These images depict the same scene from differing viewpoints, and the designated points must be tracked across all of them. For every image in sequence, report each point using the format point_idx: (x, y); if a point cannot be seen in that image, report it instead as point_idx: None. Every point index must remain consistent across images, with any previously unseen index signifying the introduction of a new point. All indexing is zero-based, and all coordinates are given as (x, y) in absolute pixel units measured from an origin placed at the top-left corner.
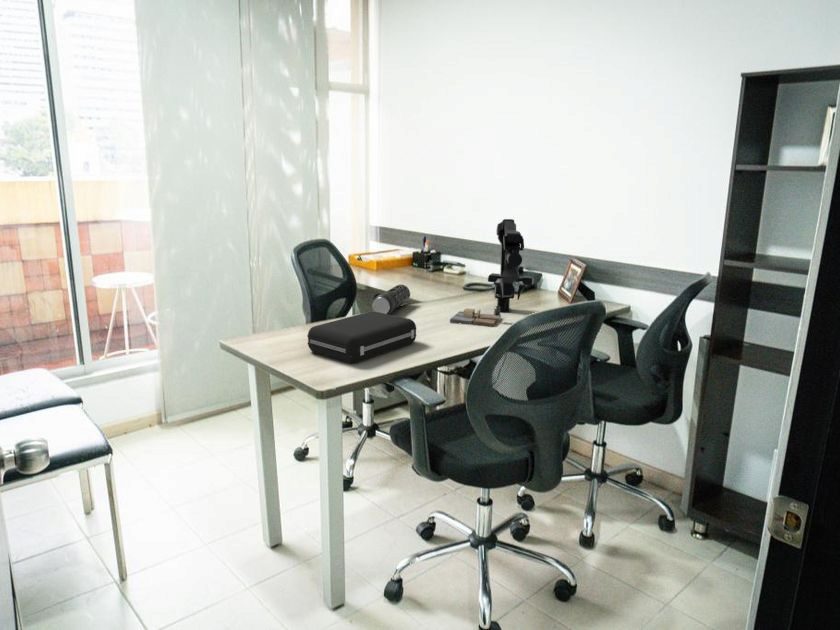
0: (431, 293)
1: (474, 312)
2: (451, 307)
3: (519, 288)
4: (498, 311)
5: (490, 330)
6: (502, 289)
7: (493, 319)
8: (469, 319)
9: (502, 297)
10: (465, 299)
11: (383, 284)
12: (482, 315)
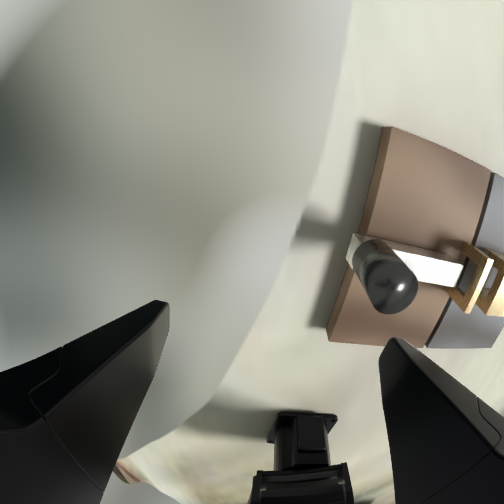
0: None
1: (478, 299)
2: None
3: (21, 413)
4: (376, 255)
5: (388, 48)
6: (418, 454)
7: (385, 235)
8: (499, 214)
9: (391, 349)
10: None
11: None
12: (451, 259)
